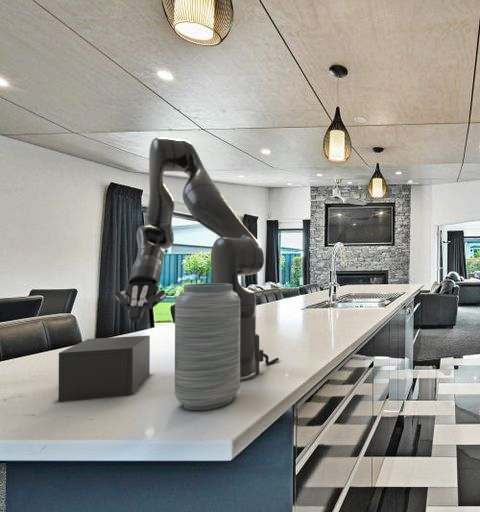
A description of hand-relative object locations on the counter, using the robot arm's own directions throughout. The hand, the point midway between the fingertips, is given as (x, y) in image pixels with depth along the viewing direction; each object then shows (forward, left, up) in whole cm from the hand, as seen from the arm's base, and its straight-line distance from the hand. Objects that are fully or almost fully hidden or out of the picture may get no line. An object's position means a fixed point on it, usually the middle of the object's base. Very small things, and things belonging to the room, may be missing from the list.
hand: (134, 319), depth 104 cm
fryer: (+10, +17, -12) cm, 23 cm away
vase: (0, +43, -12) cm, 45 cm away
